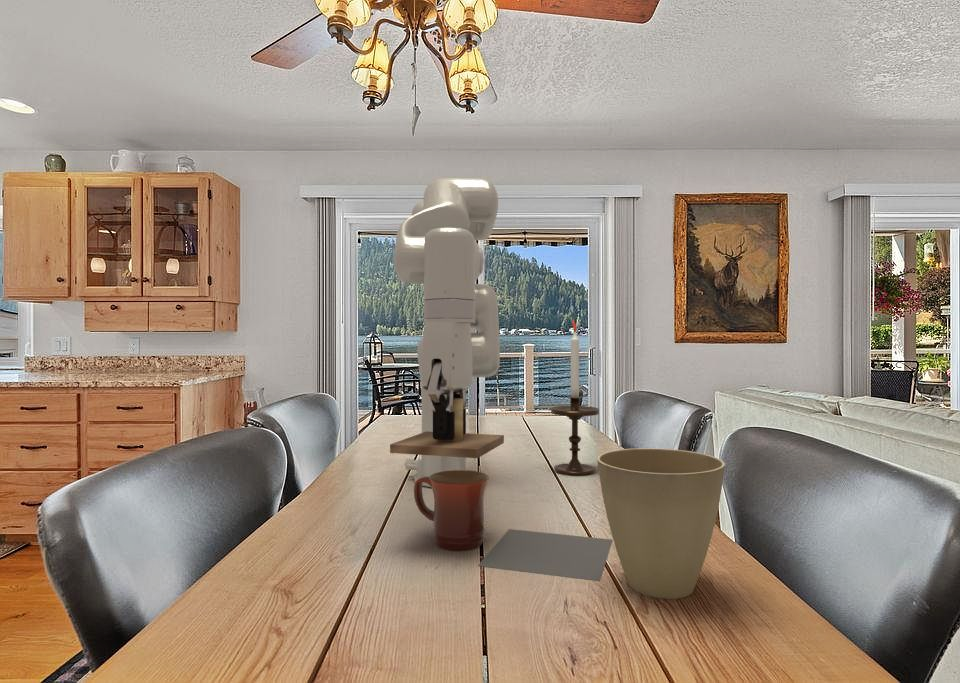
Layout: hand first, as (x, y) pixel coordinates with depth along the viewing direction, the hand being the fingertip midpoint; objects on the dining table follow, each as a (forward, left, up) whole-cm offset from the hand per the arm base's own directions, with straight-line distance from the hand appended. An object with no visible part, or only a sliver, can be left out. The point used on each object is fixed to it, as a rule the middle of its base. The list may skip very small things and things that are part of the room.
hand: (449, 435), depth 89 cm
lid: (0, 0, -2) cm, 2 cm away
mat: (+15, 0, -16) cm, 22 cm away
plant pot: (+30, -7, -16) cm, 35 cm away
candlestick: (+10, +54, -16) cm, 57 cm away
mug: (0, 0, -16) cm, 16 cm away
